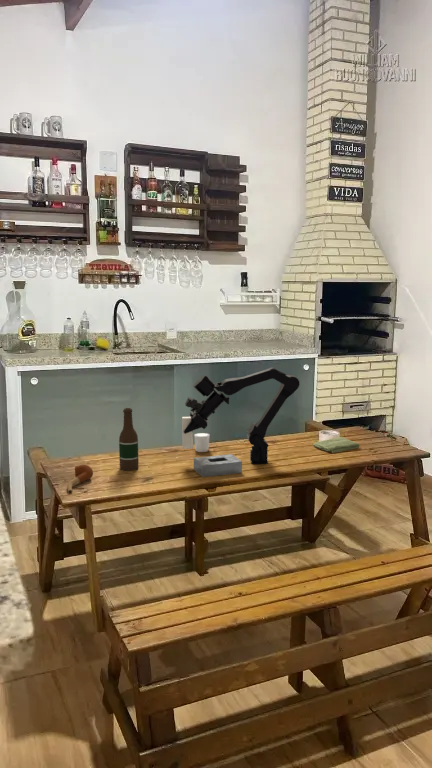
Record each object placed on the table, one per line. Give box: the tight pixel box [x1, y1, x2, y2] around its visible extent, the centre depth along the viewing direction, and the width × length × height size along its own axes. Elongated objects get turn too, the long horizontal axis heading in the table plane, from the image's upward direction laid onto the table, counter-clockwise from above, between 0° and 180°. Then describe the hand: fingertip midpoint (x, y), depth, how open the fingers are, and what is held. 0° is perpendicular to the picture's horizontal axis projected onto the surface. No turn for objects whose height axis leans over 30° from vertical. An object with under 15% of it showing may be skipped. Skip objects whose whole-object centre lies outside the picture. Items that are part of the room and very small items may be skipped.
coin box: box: [193, 453, 243, 478], centre depth 252 cm, size 16×11×4 cm
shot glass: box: [193, 432, 211, 453], centre depth 281 cm, size 7×7×7 cm
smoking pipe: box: [67, 464, 94, 494], centre depth 236 cm, size 7×18×6 cm, turn 179°
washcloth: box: [312, 436, 360, 454], centre depth 285 cm, size 13×18×3 cm
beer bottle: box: [118, 407, 140, 472], centre depth 254 cm, size 8×8×24 cm
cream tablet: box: [181, 416, 194, 450], centre depth 259 cm, size 4×2×12 cm, turn 96°
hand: (184, 431), depth 259 cm, fingers closed on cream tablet, 2 cm apart
